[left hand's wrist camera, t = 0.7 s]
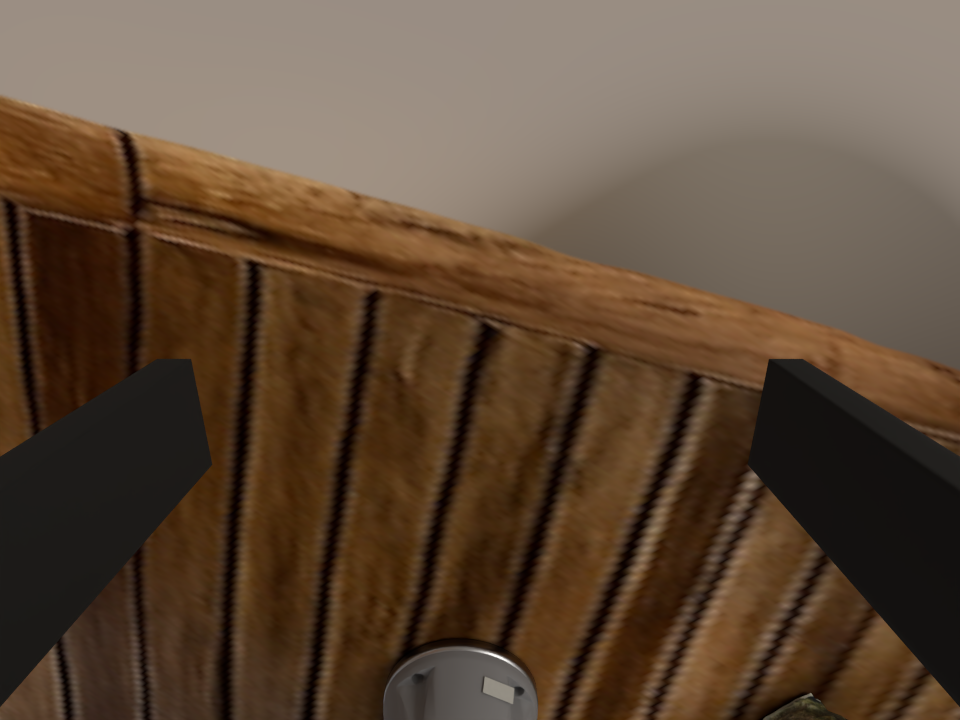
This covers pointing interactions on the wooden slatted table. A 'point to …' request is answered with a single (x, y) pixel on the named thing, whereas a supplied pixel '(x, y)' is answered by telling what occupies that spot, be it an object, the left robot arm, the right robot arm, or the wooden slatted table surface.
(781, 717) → the fossil
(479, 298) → the wooden slatted table surface
